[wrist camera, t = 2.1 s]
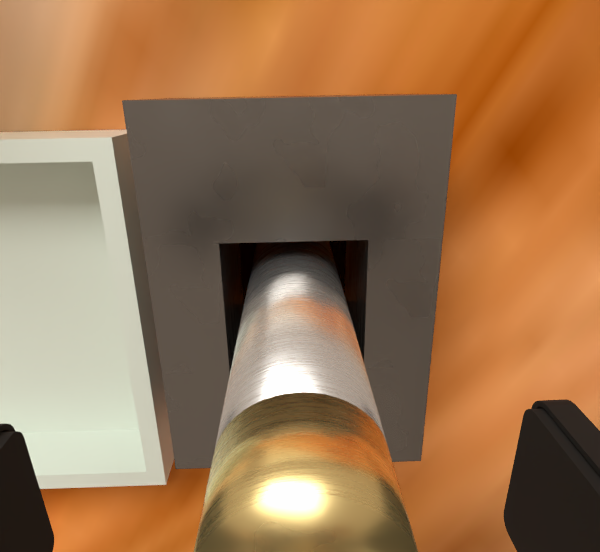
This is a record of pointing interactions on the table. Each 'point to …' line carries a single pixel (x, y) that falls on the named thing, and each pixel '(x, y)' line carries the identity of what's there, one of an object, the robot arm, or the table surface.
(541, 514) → the robot arm
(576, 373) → the table surface
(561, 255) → the table surface
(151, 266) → the hitch block
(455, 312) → the table surface
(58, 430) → the tray
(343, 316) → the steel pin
